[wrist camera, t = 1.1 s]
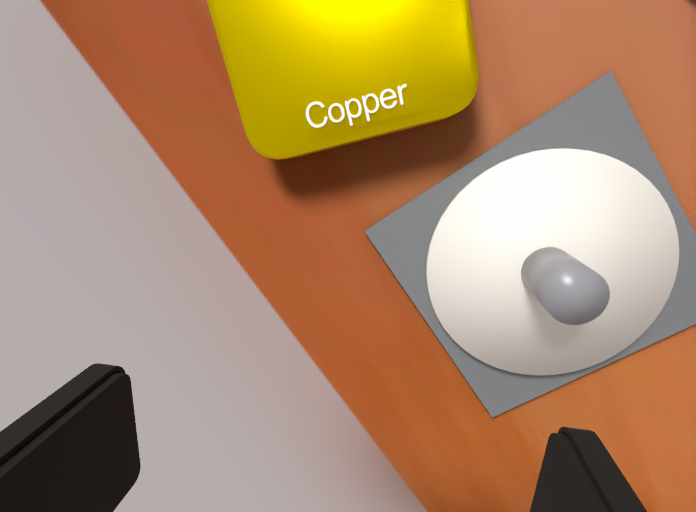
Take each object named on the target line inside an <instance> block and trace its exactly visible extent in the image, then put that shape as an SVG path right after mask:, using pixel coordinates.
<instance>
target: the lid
mask: <svg viewBox="0 0 696 512" xmlns="http://www.w3.org/2000/svg"><path fill="white" fill-rule="evenodd" d="M678 263H679V240H678V233H677V229H676V225H675V221H674V218H673V216H672V213H671V211H670V209H669V206H668V205H667V203H666V201H665V200H664V198H663V197H662V195H661V194H660V192H659V191H658V190H657V189H656V188H655V186H654V185H653V184H652V183H651V182H650V181H649V180H648V179H647V178H646V177H644V176H643V175H642V174H641V173H640V172H638V171H637V170H636V169H634V168H632V167H631V166H629V165H627V164H626V163H624V162H622V161H620V160H617V159H615V158H612V157H610V156H608V155H604V154H601V153H597V152H593V151H588V150H579V149H568V148H563V149H544V150H537V151H531V152H528V153H524V154H520V155H517V156H514V157H511V158H509V159H506V160H504V161H501V162H499V163H497V164H496V165H494V166H492V167H490V168H488V169H487V170H485V171H483V172H482V173H481V174H479V175H478V176H476V177H475V178H474V179H472V180H471V181H470V182H469V183H468V184H467V185H466V186H464V187H463V188H462V189H461V190H460V191H459V192H458V193H457V195H456V196H455V197H454V198H453V199H452V201H451V202H450V203H449V204H448V206H447V207H446V209H445V210H444V212H443V213H442V215H441V217H440V218H439V221H438V223H437V225H436V227H435V229H434V231H433V234H432V237H431V241H430V244H429V248H428V254H427V263H426V276H427V286H428V291H429V295H430V299H431V303H432V306H433V308H434V310H435V313H436V315H437V317H438V319H439V321H440V322H441V324H442V326H443V328H444V329H445V330H446V331H447V333H448V334H449V335H450V337H451V338H452V339H453V340H454V341H455V342H456V343H457V344H458V345H459V346H460V347H461V348H463V349H464V350H465V351H467V352H468V353H469V354H471V355H472V356H474V357H475V358H477V359H479V360H481V361H482V362H484V363H486V364H489V365H491V366H493V367H496V368H498V369H502V370H505V371H509V372H513V373H519V374H525V375H557V374H563V373H569V372H574V371H578V370H581V369H585V368H588V367H591V366H593V365H596V364H598V363H601V362H603V361H605V360H607V359H609V358H610V357H612V356H614V355H616V354H618V353H619V352H621V351H622V350H623V349H625V348H626V347H628V346H629V345H631V344H632V343H633V342H634V341H635V340H636V339H637V338H639V337H640V336H641V335H642V334H643V333H644V332H645V331H646V330H647V329H648V327H649V326H650V325H651V324H652V323H653V322H654V320H655V319H656V318H657V316H658V315H659V313H660V312H661V311H662V309H663V307H664V305H665V303H666V301H667V300H668V298H669V296H670V293H671V290H672V288H673V285H674V282H675V279H676V274H677V270H678Z"/></svg>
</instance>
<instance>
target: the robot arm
mask: <svg viewBox="0 0 696 512" xmlns="http://www.w3.org/2000/svg"><path fill="white" fill-rule="evenodd" d="M139 472H140V458H139V450H138V441H137V432H136V423H135V415H134V406H133V397H132V389H131V380H130V377H129V375H127V374H125V371H124V369H123V368H122V367H120V366H113V365H106V364H93V365H91V366H89V367H88V368H87V369H85V370H84V371H83V372H81V373H80V374H79V375H77V376H76V377H74V378H73V379H72V380H70V381H69V382H68V383H66V384H65V385H64V386H62V387H61V388H59V389H58V390H57V391H55V392H54V393H53V394H51V395H50V396H49V397H47V398H46V399H45V400H43V401H42V402H41V403H39V404H38V405H36V406H35V407H34V408H32V409H31V410H30V411H28V412H27V413H25V414H24V415H23V416H21V417H20V418H19V419H17V420H16V421H15V422H13V423H12V424H10V425H9V426H8V427H7V428H5V429H4V430H2V431H1V432H0V512H113V511H114V510H115V508H116V507H117V506H118V504H119V503H120V502H121V500H122V499H123V498H124V497H125V495H126V494H127V493H128V491H129V490H130V489H131V487H132V486H133V485H134V483H135V482H136V480H137V478H138V475H139ZM530 512H647V511H646V509H645V508H644V506H643V505H642V503H641V502H640V500H639V499H638V497H637V495H636V494H635V492H634V491H633V489H632V488H631V486H630V485H629V483H628V482H627V480H626V479H625V477H624V476H623V474H622V472H621V471H620V469H619V468H618V466H617V465H616V463H615V462H614V460H613V459H612V457H611V456H610V454H609V453H608V451H607V449H606V448H605V446H604V445H603V443H602V442H601V440H600V439H599V437H598V436H597V435H596V433H595V432H593V431H590V430H583V429H576V428H568V427H561V428H560V429H559V431H558V434H557V433H551V435H550V436H549V439H548V443H547V447H546V451H545V455H544V459H543V463H542V467H541V470H540V474H539V478H538V482H537V486H536V490H535V494H534V498H533V502H532V505H531V509H530Z"/></svg>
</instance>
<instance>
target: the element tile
mask: <svg viewBox="0 0 696 512" xmlns="http://www.w3.org/2000/svg"><path fill="white" fill-rule="evenodd" d="M207 4H208V7H209V11H210V14H211V17H212V21H213V24H214V28H215V31H216V34H217V38H218V41H219V44H220V48H221V51H222V55H223V58H224V61H225V65H226V68H227V72H228V75H229V78H230V82H231V85H232V89H233V92H234V95H235V99H236V102H237V106H238V109H239V112H240V116H241V119H242V123H243V126H244V129H245V133H246V135H247V138H248V140H249V142H250V143H251V145H252V146H253V147H254V149H255V150H256V151H257V152H258V153H260V154H261V155H263V156H264V157H266V158H271V159H276V160H279V159H289V158H295V157H300V156H304V155H308V154H312V153H316V152H320V151H324V150H328V149H332V148H336V147H340V146H343V145H347V144H351V143H355V142H359V141H363V140H367V139H371V138H375V137H379V136H382V135H386V134H390V133H394V132H398V131H402V130H406V129H410V128H414V127H418V126H422V125H425V124H429V123H433V122H437V121H441V120H444V119H446V118H448V117H451V116H453V115H455V114H457V113H459V112H460V111H461V110H463V109H464V108H465V107H467V106H468V105H469V104H470V102H471V101H472V99H473V98H474V96H475V95H476V91H477V87H478V82H479V67H478V60H477V54H476V47H475V40H474V34H473V27H472V20H471V14H470V7H469V0H207Z"/></svg>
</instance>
